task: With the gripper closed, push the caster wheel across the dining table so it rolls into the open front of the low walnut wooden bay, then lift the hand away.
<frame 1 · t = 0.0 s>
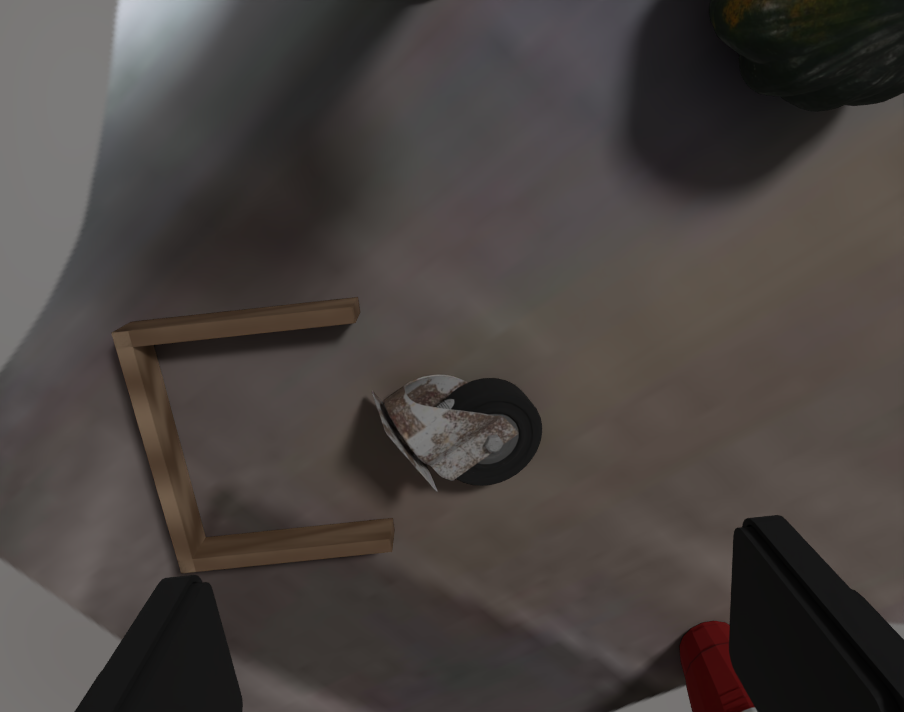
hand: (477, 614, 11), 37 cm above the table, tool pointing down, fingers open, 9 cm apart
plastic cup: (706, 644, 58), on the table
walnut bay: (278, 431, 50), on the table
caster wheel: (465, 409, 50), on the table
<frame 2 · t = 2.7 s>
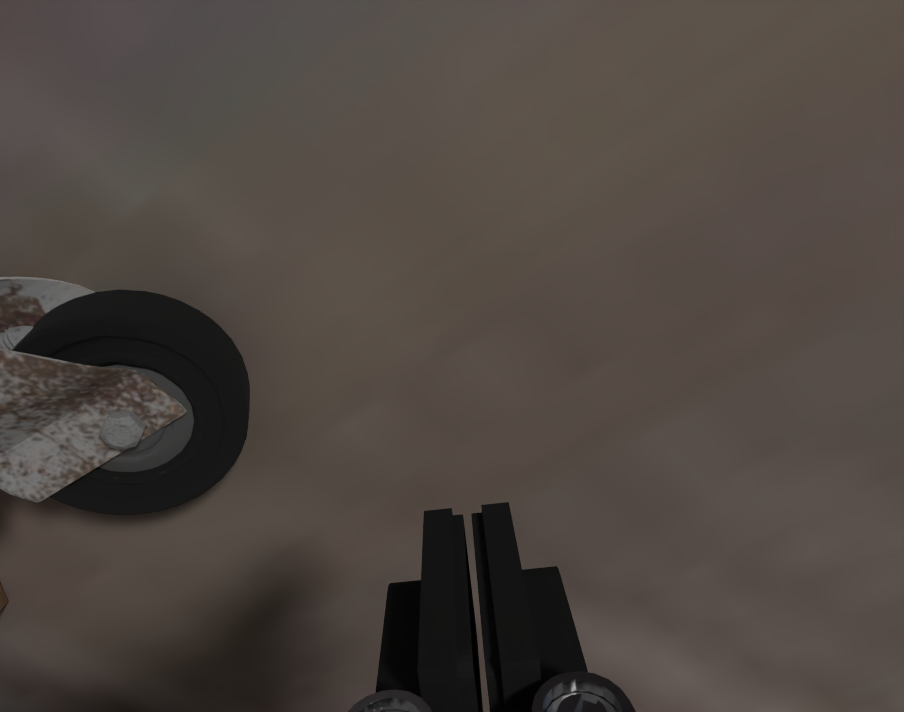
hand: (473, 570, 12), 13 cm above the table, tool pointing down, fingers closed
caster wheel: (117, 357, 25), on the table
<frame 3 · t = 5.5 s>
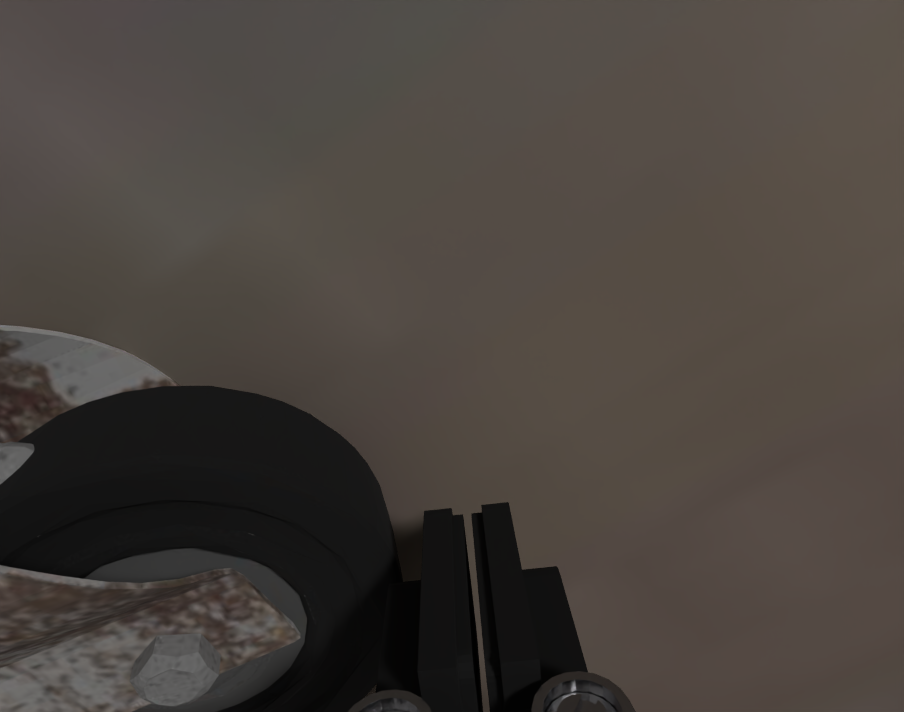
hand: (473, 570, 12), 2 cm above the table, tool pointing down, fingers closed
caster wheel: (165, 476, 14), on the table
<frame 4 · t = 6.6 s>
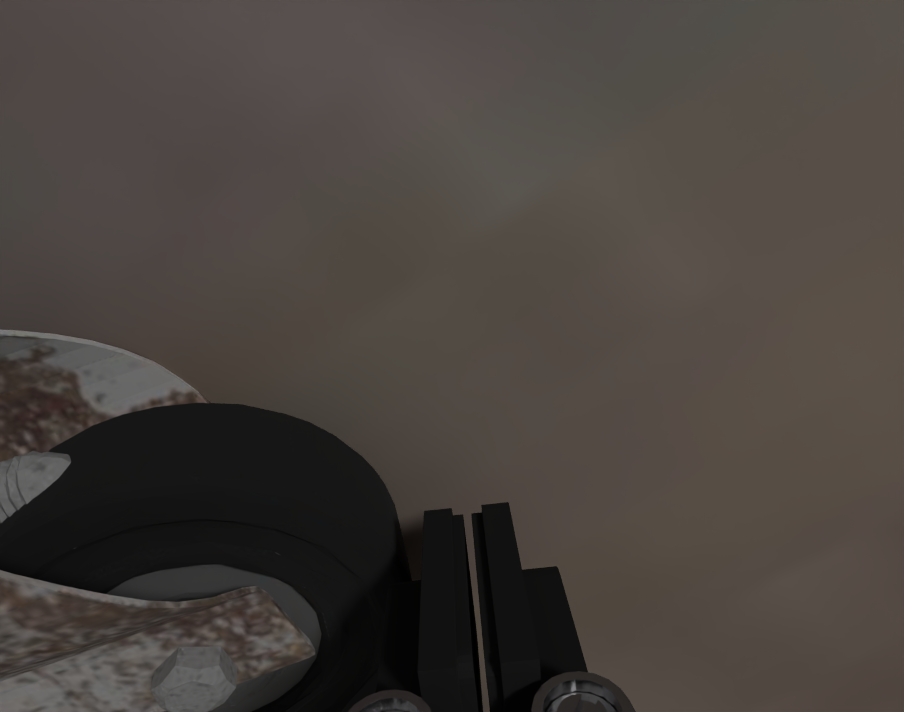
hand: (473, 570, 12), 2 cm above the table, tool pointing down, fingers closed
caster wheel: (183, 484, 14), on the table, touching gripper
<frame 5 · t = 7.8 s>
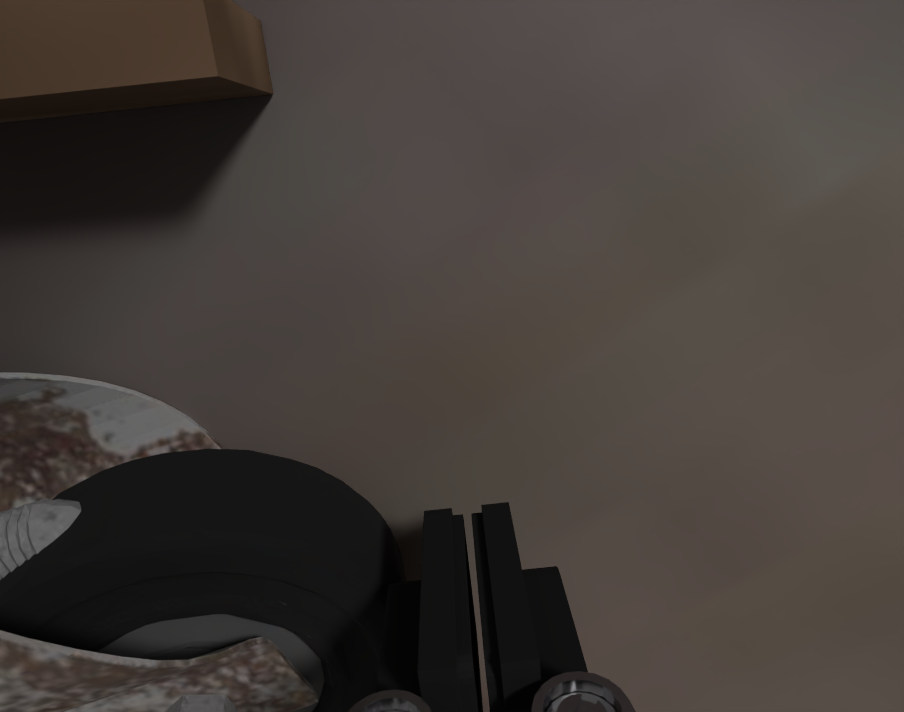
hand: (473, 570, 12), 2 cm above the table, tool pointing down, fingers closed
walnut bay: (2, 550, 14), on the table
caster wheel: (188, 521, 14), on the table, touching gripper
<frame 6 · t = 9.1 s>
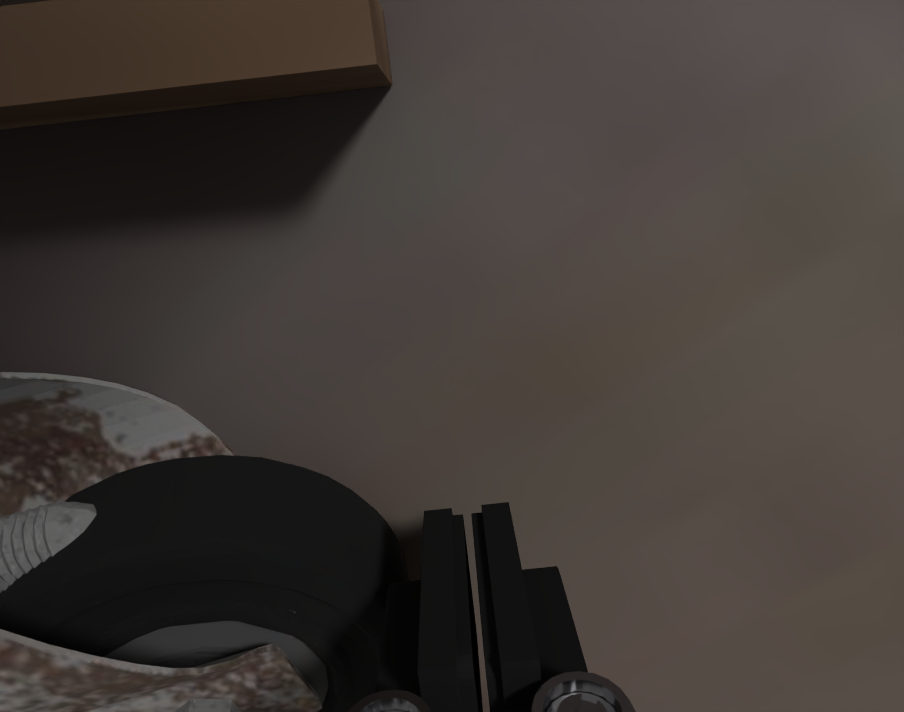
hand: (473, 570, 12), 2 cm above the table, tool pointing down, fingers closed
walnut bay: (100, 547, 14), on the table
caster wheel: (195, 522, 15), on the table
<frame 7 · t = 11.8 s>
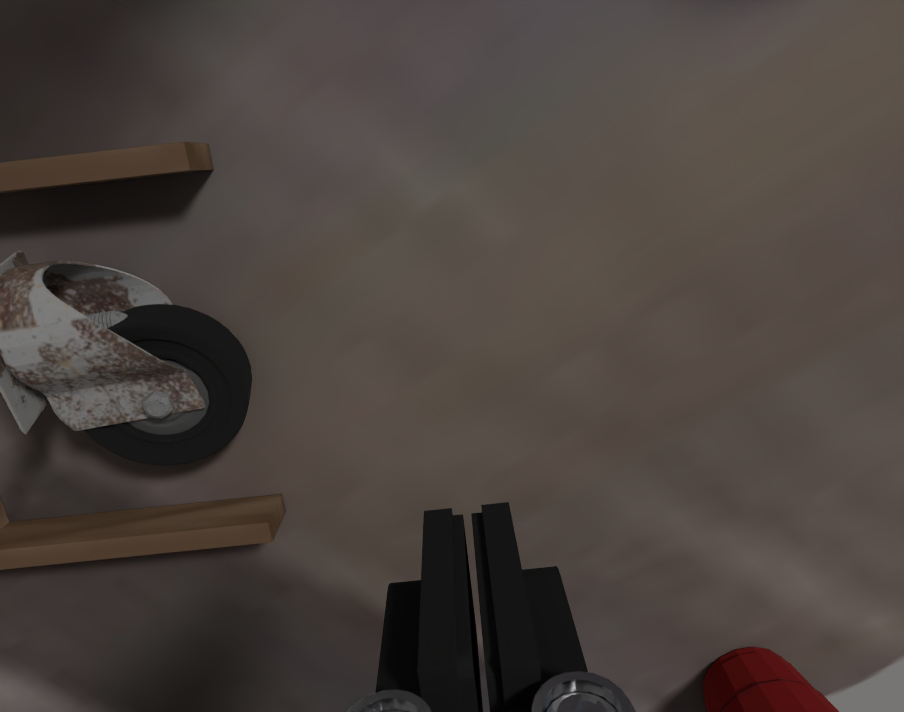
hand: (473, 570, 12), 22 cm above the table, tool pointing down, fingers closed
plastic cup: (740, 680, 41), on the table
walnut bay: (102, 360, 33), on the table
caster wheel: (162, 345, 34), on the table
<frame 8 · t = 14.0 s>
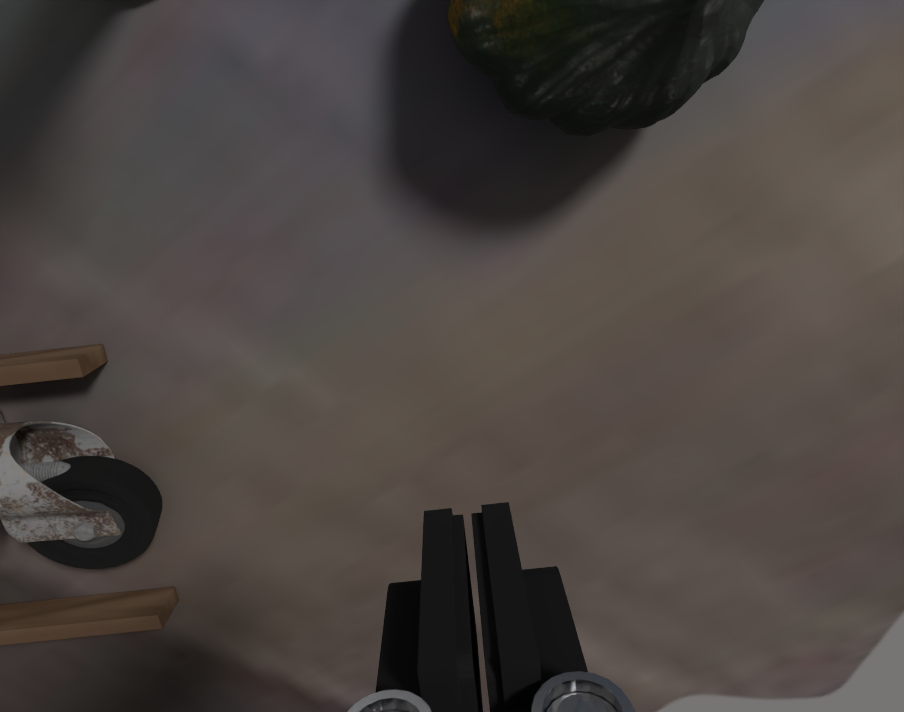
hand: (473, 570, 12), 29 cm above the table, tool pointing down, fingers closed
squash: (579, 0, 35), on the table
walnut bay: (31, 493, 44), on the table
caster wheel: (96, 473, 44), on the table
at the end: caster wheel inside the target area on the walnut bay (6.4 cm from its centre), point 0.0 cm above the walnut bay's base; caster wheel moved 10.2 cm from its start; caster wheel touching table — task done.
